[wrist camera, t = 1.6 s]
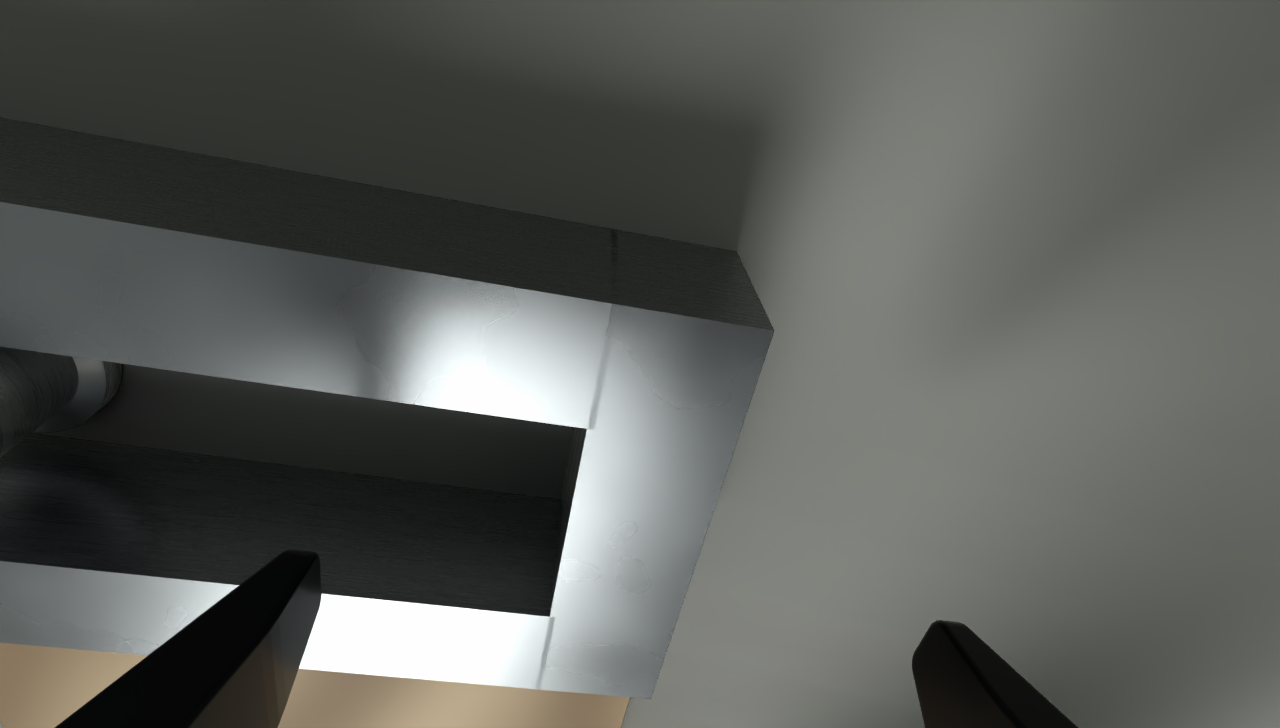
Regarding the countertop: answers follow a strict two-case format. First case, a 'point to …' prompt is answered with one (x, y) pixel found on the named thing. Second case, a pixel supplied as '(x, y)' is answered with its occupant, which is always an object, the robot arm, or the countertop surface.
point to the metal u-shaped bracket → (378, 369)
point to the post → (50, 392)
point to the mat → (304, 696)
